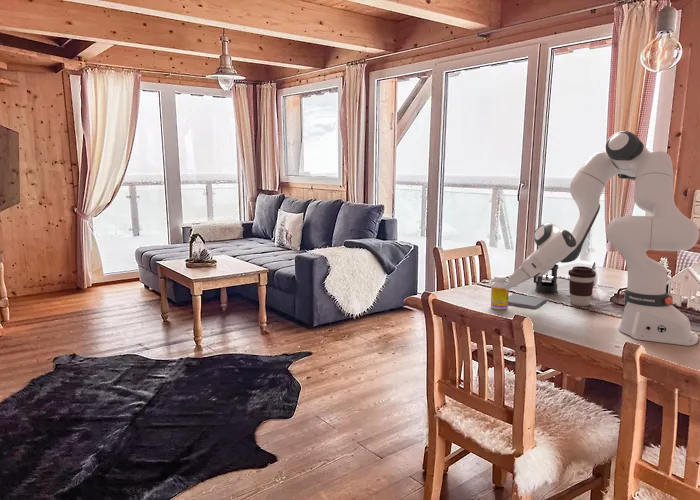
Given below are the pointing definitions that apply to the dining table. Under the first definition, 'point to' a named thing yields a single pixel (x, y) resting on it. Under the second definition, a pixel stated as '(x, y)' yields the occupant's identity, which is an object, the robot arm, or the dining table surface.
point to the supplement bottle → (499, 293)
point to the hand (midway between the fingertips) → (511, 286)
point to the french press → (547, 286)
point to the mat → (525, 301)
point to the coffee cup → (581, 285)
